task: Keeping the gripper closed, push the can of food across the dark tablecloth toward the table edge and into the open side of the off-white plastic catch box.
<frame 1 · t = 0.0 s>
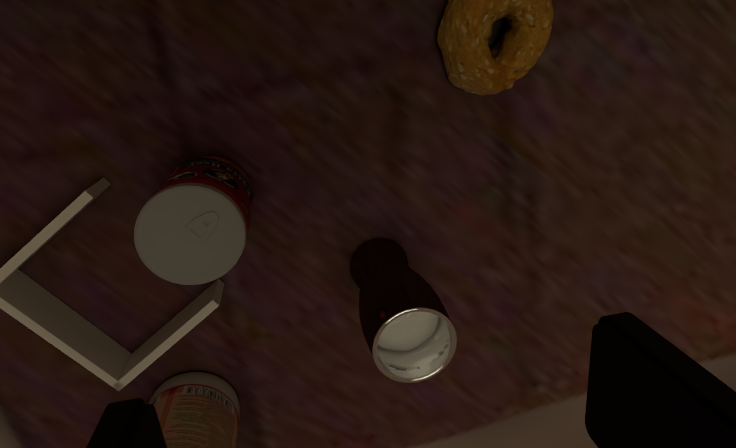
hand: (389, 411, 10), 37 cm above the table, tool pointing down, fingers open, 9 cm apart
bagel: (485, 33, 45), on the table
canned food: (211, 194, 46), on the table
catch box: (119, 276, 47), on the table
fruit juice: (196, 404, 53), on the table
beer glass: (378, 264, 51), on the table
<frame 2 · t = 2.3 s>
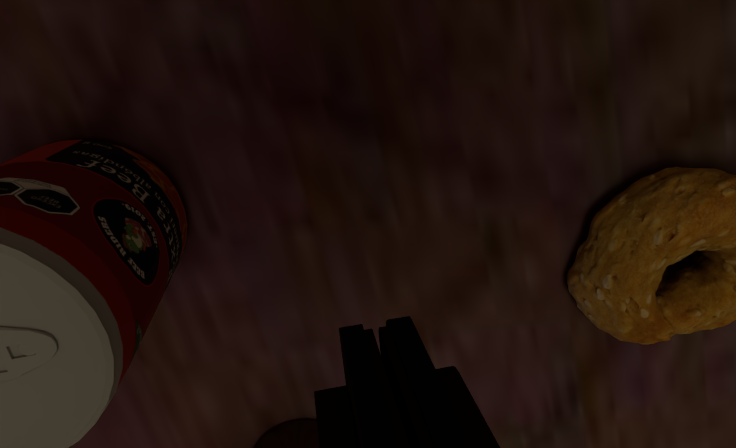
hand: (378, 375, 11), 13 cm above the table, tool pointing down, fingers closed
bagel: (647, 244, 28), on the table
canned food: (102, 216, 23), on the table
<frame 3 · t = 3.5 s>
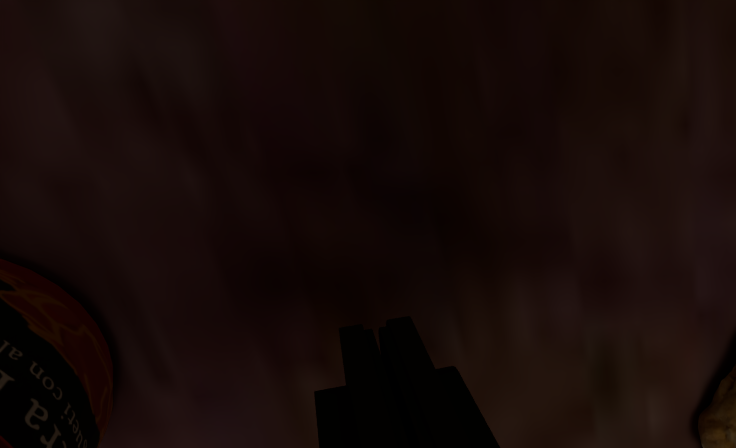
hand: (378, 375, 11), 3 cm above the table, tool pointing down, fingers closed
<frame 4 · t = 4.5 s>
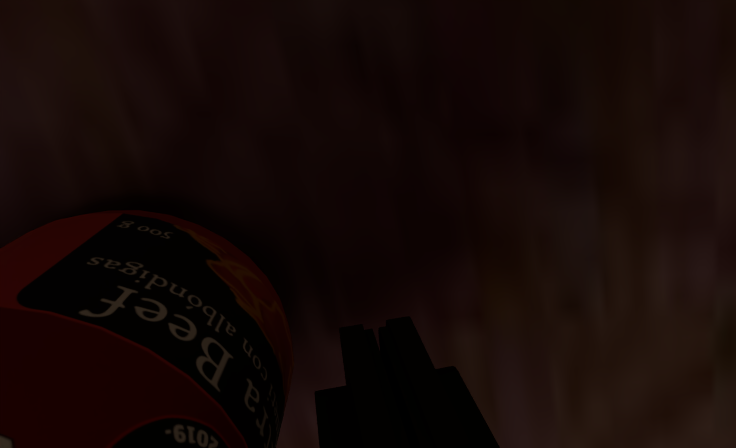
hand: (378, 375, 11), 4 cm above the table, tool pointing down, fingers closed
canned food: (155, 327, 13), on the table, touching gripper
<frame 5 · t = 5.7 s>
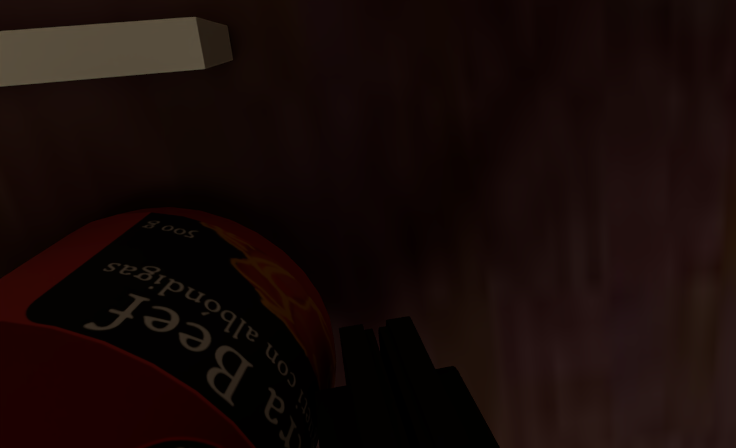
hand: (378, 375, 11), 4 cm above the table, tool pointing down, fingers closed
canned food: (202, 321, 13), point 1 cm above the table, touching gripper
catch box: (42, 321, 14), on the table
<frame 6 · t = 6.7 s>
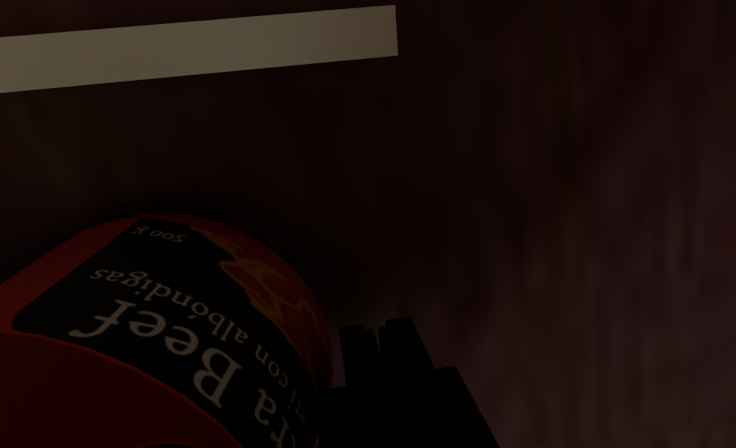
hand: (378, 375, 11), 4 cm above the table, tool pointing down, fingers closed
canned food: (200, 325, 13), point 1 cm above the table, touching gripper
catch box: (163, 308, 14), on the table
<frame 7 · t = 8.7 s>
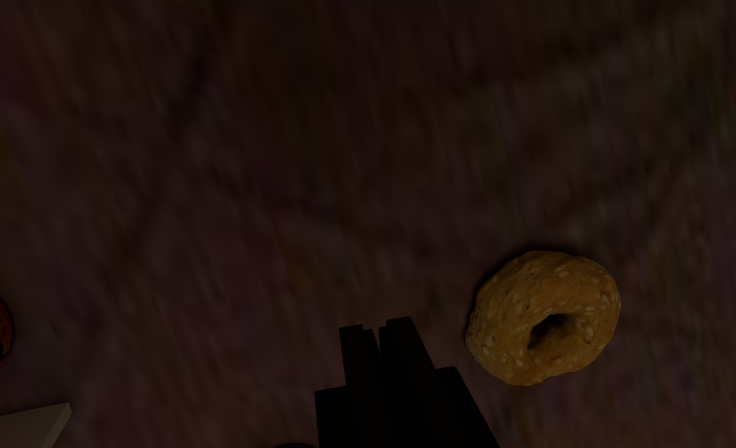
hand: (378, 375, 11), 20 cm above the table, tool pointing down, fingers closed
bagel: (526, 306, 36), on the table
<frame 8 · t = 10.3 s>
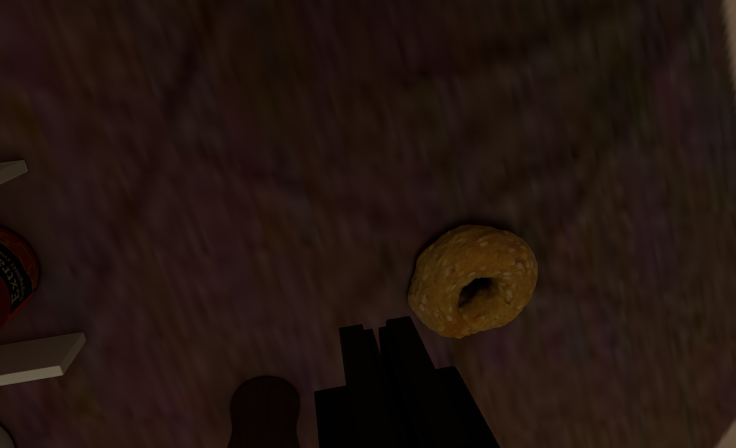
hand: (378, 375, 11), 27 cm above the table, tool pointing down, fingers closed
bagel: (463, 272, 43), on the table
beer glass: (265, 402, 44), on the table
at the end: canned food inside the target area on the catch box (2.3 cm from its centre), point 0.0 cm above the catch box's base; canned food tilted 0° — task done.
